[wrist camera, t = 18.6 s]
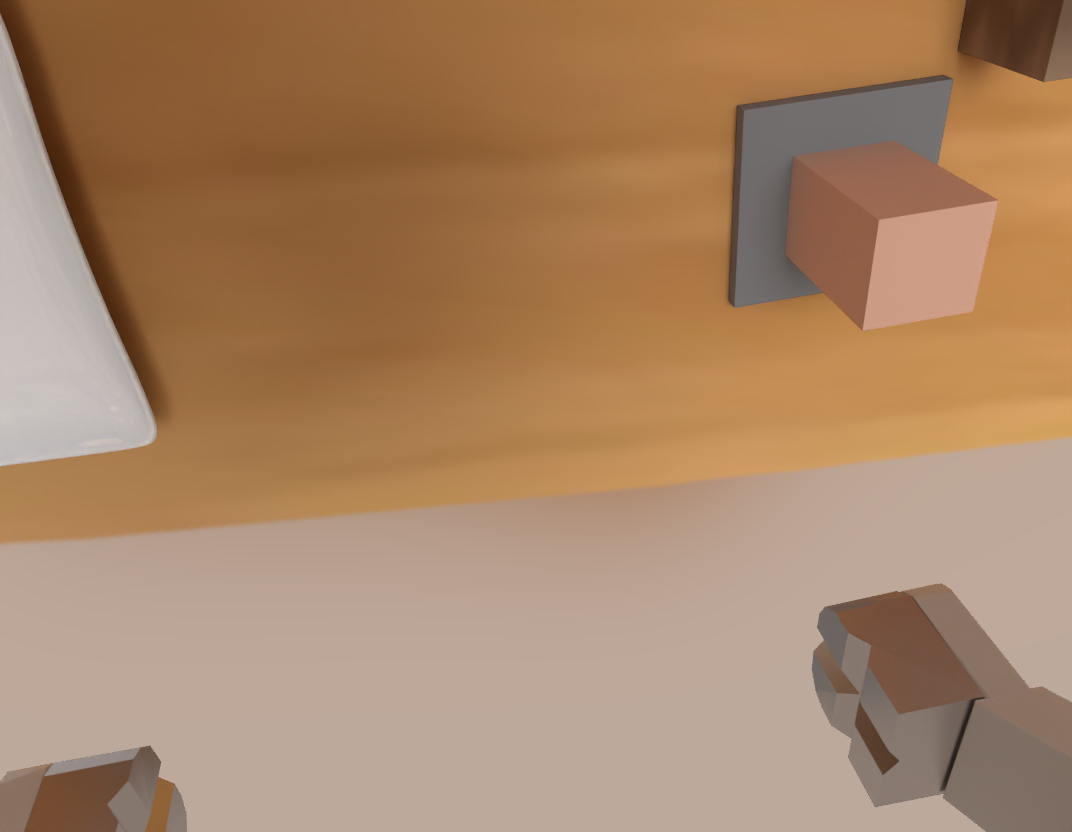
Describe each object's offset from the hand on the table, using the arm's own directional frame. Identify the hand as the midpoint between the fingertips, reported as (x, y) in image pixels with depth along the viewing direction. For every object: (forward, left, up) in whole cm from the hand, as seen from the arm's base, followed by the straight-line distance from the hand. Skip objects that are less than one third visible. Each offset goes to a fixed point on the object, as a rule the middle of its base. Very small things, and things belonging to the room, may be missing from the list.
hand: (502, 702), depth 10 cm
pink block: (+8, +20, -30) cm, 37 cm away
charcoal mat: (+8, +20, -31) cm, 38 cm away
